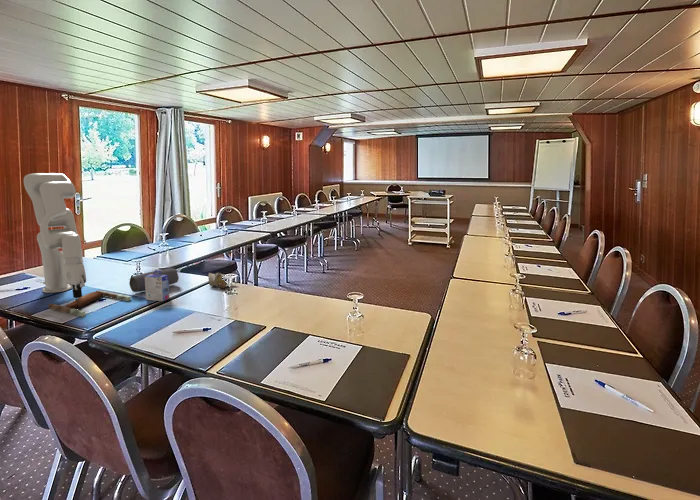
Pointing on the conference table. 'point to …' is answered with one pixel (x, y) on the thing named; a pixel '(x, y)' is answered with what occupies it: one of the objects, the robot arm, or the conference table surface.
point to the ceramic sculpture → (217, 280)
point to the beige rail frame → (82, 313)
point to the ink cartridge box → (157, 287)
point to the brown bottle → (85, 300)
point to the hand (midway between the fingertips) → (77, 297)
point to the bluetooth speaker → (139, 280)
